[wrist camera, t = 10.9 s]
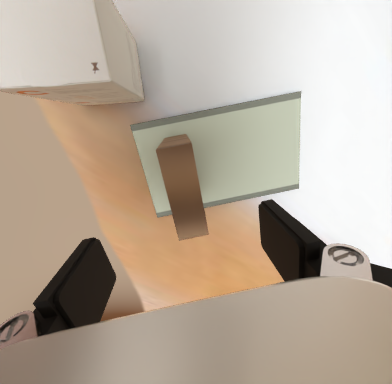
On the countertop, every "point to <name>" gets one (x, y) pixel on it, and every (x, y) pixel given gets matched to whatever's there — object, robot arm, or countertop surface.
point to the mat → (230, 150)
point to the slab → (182, 186)
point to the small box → (68, 52)
